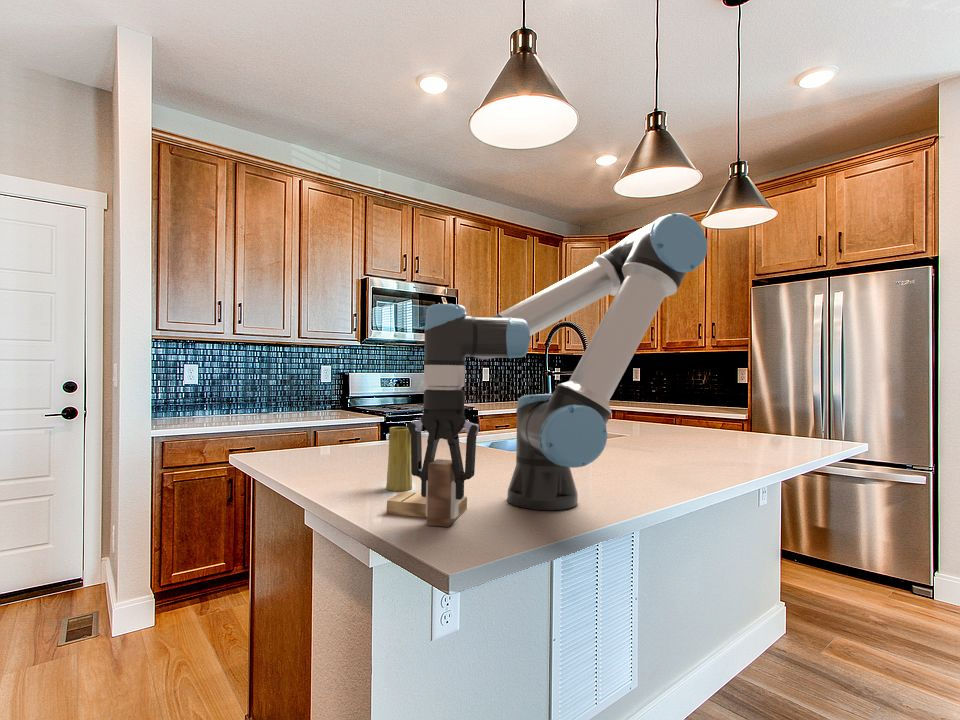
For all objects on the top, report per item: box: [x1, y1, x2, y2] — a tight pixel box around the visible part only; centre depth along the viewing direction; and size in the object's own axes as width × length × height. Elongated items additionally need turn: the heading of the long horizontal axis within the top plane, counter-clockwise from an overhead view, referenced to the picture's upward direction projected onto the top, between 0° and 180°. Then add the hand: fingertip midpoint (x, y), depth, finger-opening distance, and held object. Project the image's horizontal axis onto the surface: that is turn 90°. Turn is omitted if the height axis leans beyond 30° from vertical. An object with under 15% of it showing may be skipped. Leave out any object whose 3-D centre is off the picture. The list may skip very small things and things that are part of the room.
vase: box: [385, 426, 413, 492], centre depth 124 cm, size 6×6×14 cm
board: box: [386, 491, 468, 520], centre depth 104 cm, size 14×8×3 cm, turn 76°
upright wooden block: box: [426, 458, 457, 528], centre depth 99 cm, size 4×10×11 cm, turn 167°
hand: (442, 515), depth 97 cm, fingers closed on upright wooden block, 4 cm apart
